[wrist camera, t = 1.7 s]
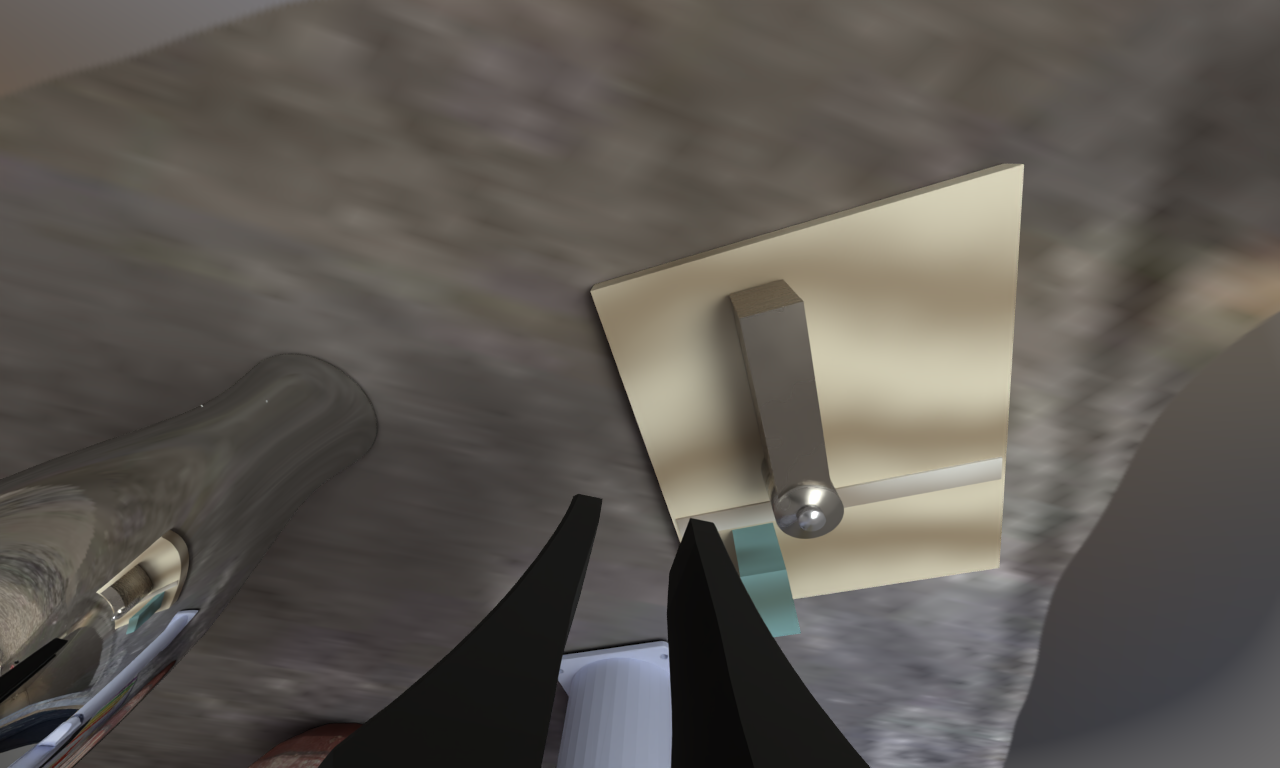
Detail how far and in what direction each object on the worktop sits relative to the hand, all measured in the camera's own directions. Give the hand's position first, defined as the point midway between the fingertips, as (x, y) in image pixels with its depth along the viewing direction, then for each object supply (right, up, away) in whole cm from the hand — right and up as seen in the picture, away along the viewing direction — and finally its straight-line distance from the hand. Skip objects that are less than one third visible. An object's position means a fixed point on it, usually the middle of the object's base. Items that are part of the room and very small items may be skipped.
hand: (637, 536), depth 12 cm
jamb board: (+8, +1, +9) cm, 12 cm away
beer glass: (-15, +3, +10) cm, 19 cm away
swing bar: (+6, +3, +7) cm, 10 cm away
